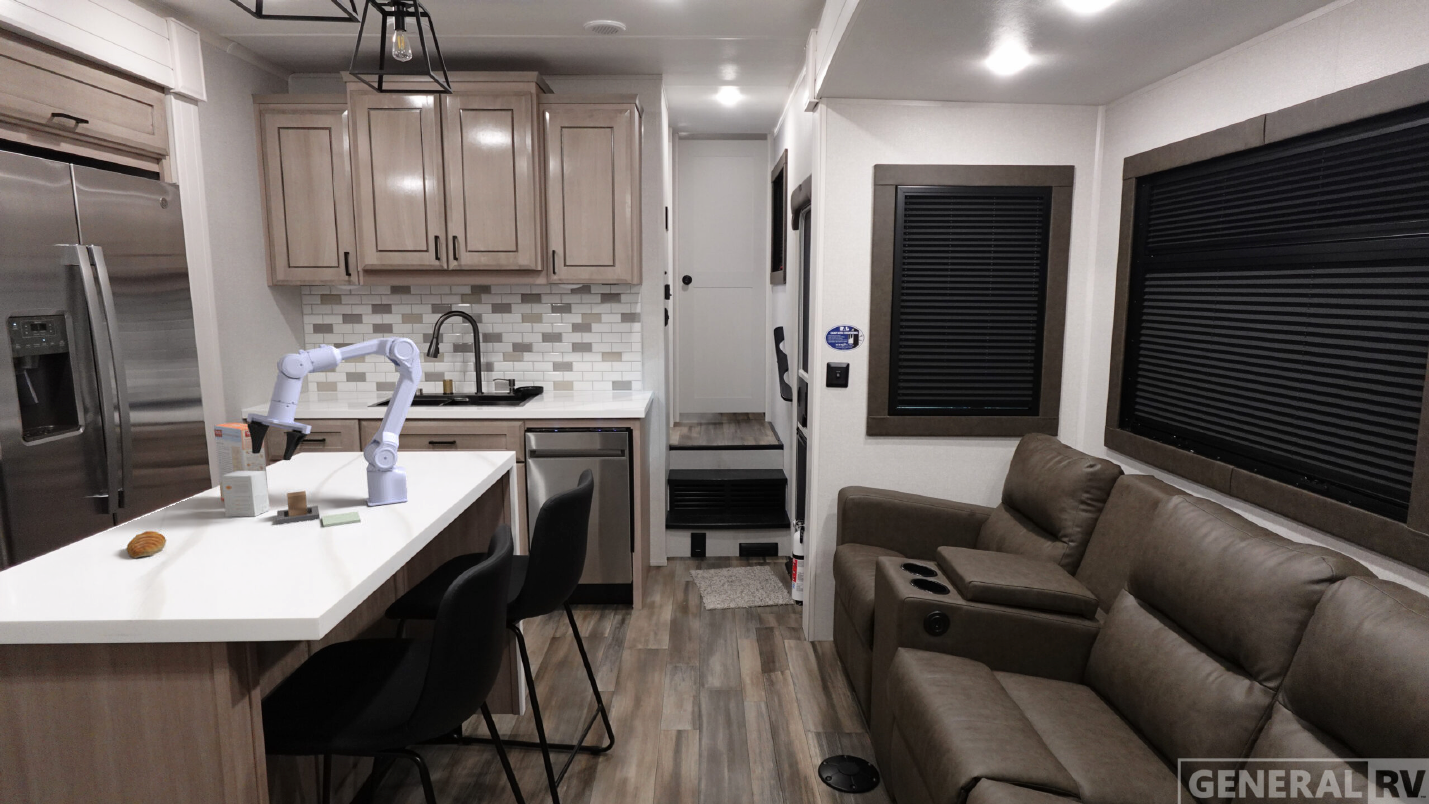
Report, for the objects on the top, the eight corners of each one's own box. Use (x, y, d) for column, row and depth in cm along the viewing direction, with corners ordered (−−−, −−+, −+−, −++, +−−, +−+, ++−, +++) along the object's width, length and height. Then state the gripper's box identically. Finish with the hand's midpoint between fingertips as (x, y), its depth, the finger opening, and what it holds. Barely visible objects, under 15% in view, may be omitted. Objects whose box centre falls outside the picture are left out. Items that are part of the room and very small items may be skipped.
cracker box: (271, 503, 198) (263, 425, 195) (246, 508, 193) (239, 429, 190) (244, 495, 206) (236, 421, 203) (220, 501, 201) (212, 424, 198)
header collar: (318, 509, 191) (317, 505, 191) (319, 518, 184) (319, 514, 184) (277, 515, 187) (277, 510, 187) (277, 524, 179) (277, 519, 179)
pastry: (163, 556, 159) (161, 539, 158) (123, 562, 155) (121, 545, 154) (167, 544, 166) (165, 527, 166) (129, 550, 163) (127, 533, 162)
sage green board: (357, 513, 188) (357, 511, 188) (360, 521, 181) (360, 519, 181) (322, 518, 184) (321, 516, 184) (323, 527, 177) (323, 524, 177)
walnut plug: (307, 514, 188) (305, 490, 187) (307, 518, 185) (305, 494, 184) (289, 516, 186) (287, 493, 185) (289, 520, 183) (287, 496, 182)
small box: (270, 510, 191) (266, 470, 190) (255, 517, 186) (251, 475, 184) (241, 510, 192) (237, 470, 191) (225, 516, 187) (220, 475, 185)
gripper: (245, 395, 178) (231, 450, 177) (305, 408, 178) (291, 463, 178) (262, 396, 185) (249, 449, 185) (320, 408, 185) (307, 462, 185)
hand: (271, 456), depth 182 cm, fingers open, 7 cm apart
